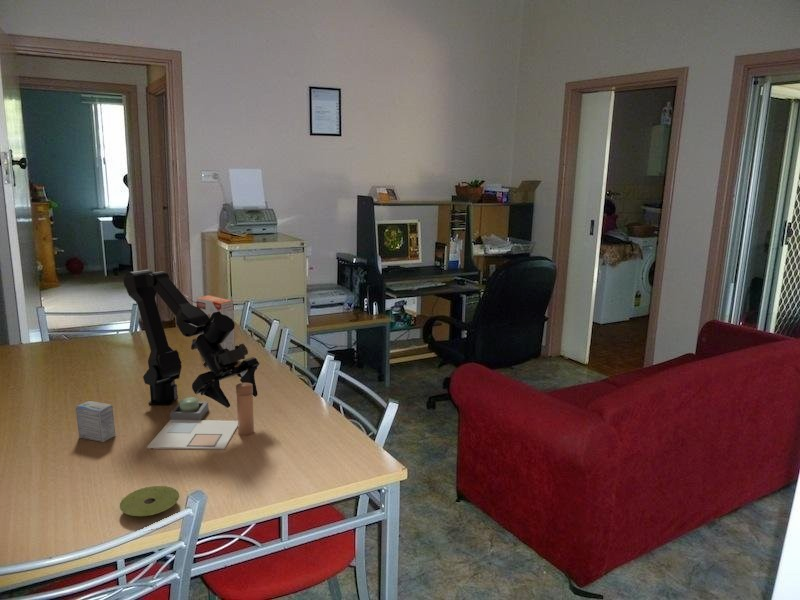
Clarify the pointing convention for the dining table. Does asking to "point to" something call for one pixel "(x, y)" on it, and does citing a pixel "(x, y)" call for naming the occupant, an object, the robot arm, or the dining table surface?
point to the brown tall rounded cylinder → (245, 408)
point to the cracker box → (225, 308)
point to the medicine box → (95, 421)
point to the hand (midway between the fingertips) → (243, 401)
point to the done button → (189, 405)
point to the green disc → (149, 500)
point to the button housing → (189, 413)
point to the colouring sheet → (194, 434)
